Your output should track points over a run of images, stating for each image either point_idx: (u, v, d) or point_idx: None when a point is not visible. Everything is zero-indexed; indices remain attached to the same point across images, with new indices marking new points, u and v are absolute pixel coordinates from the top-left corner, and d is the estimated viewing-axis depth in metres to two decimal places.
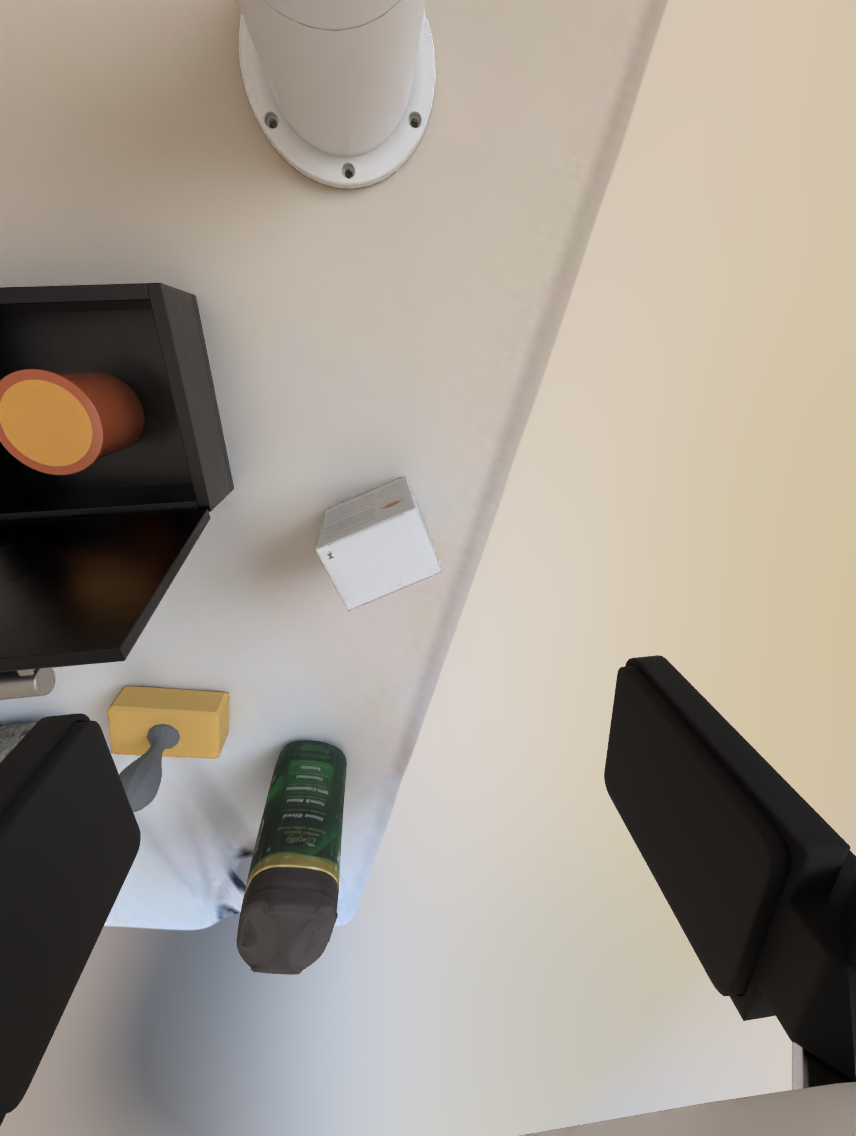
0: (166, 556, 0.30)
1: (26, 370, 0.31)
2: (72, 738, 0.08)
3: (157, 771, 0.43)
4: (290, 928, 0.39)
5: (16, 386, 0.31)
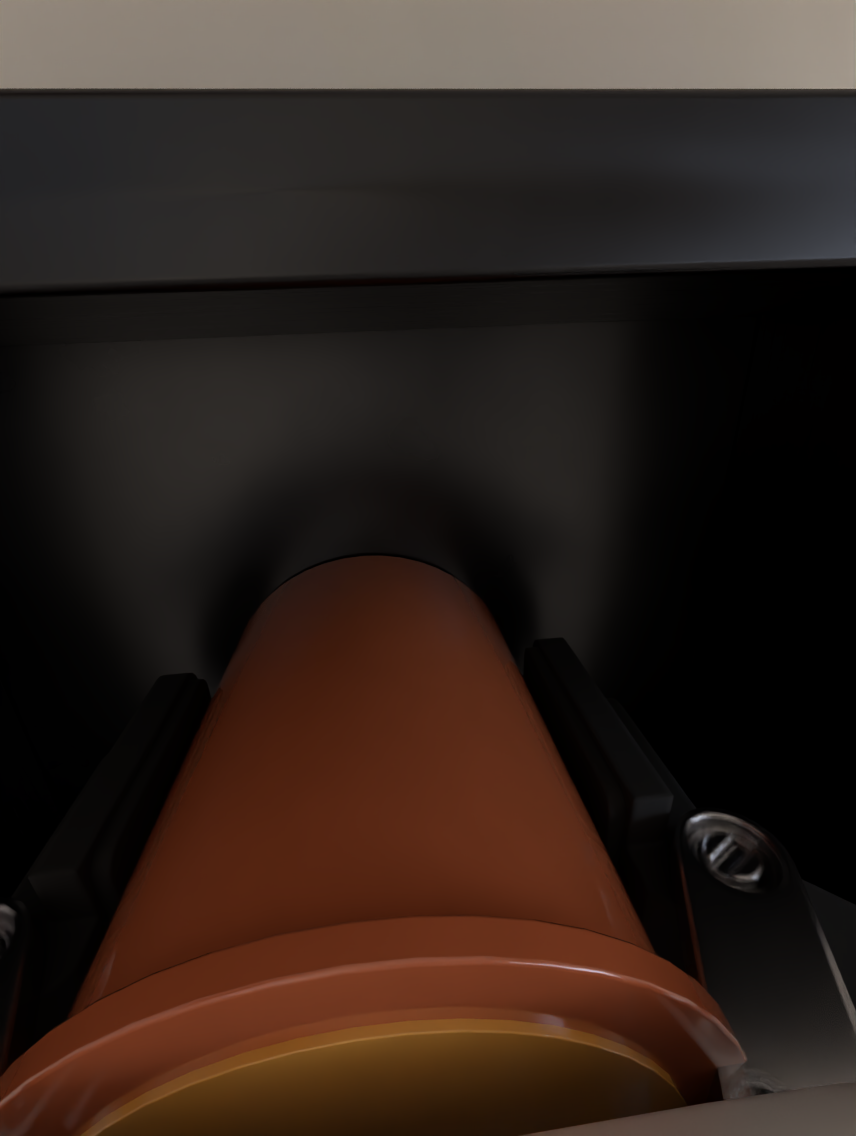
0: None
1: (315, 976, 0.03)
2: (190, 692, 0.09)
3: None
4: None
5: (194, 1082, 0.03)
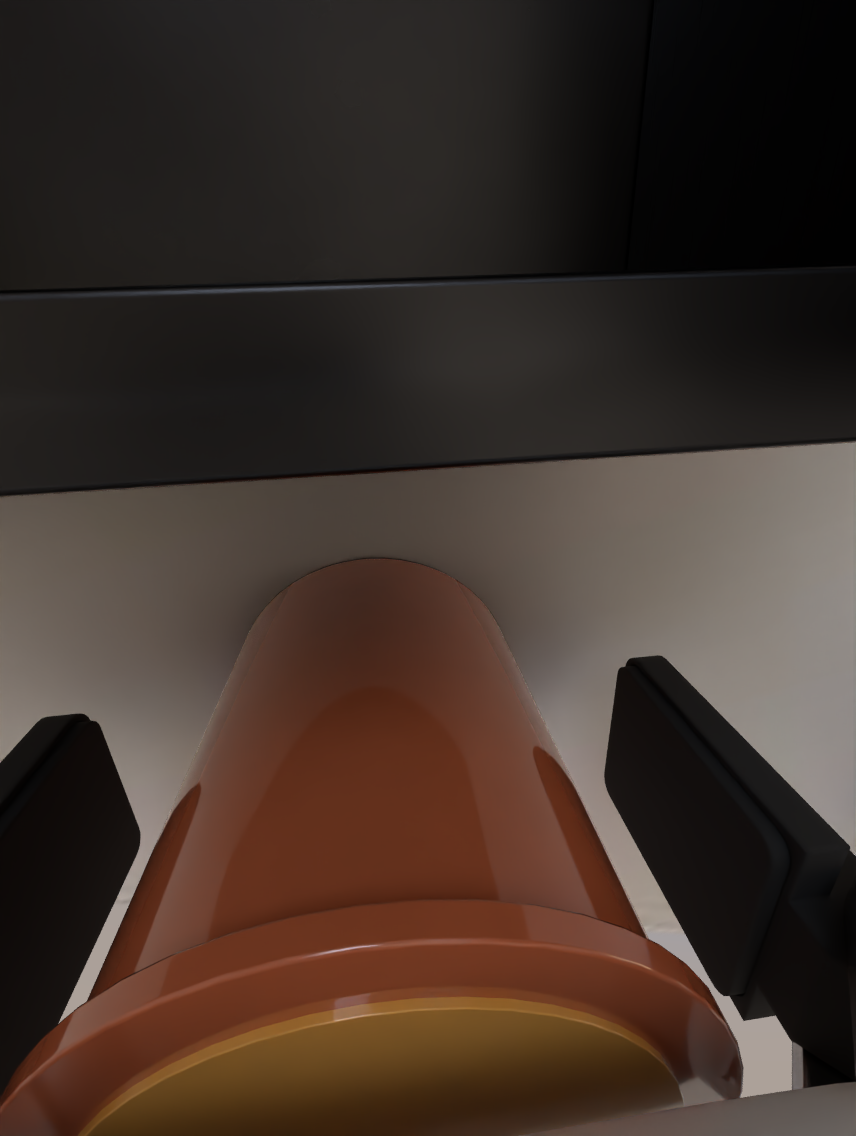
0: None
1: (328, 955, 0.03)
2: (72, 738, 0.08)
3: None
4: None
5: (214, 1055, 0.03)
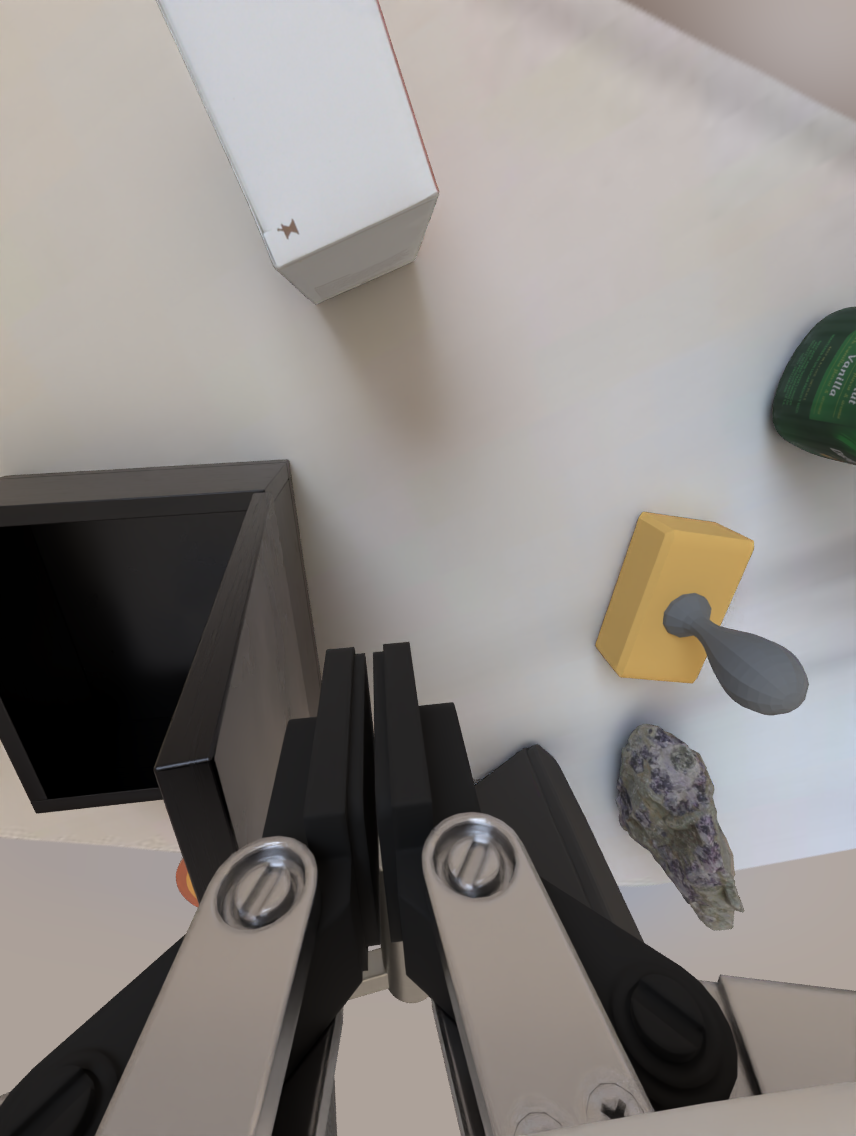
0: None
1: None
2: (360, 664, 0.09)
3: (742, 639, 0.25)
4: None
5: None
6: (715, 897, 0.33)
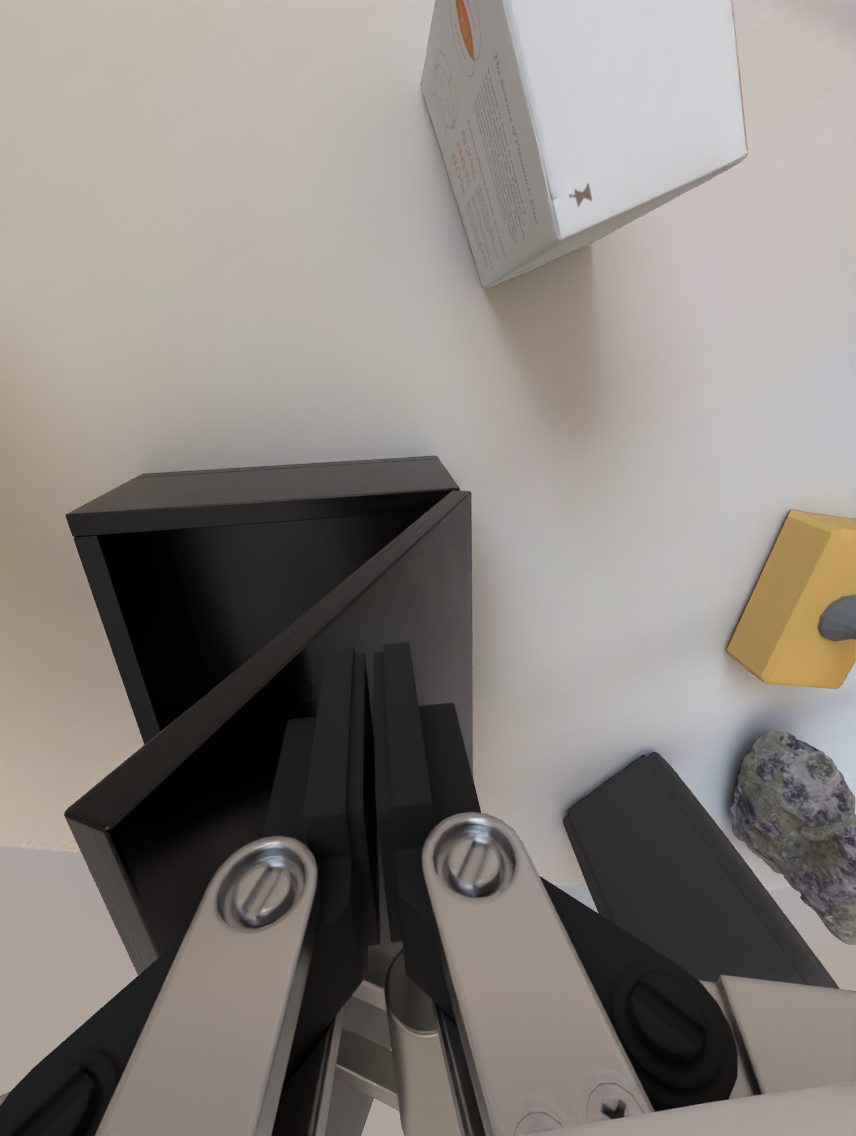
0: None
1: None
2: (360, 665, 0.09)
3: None
4: None
5: None
6: None
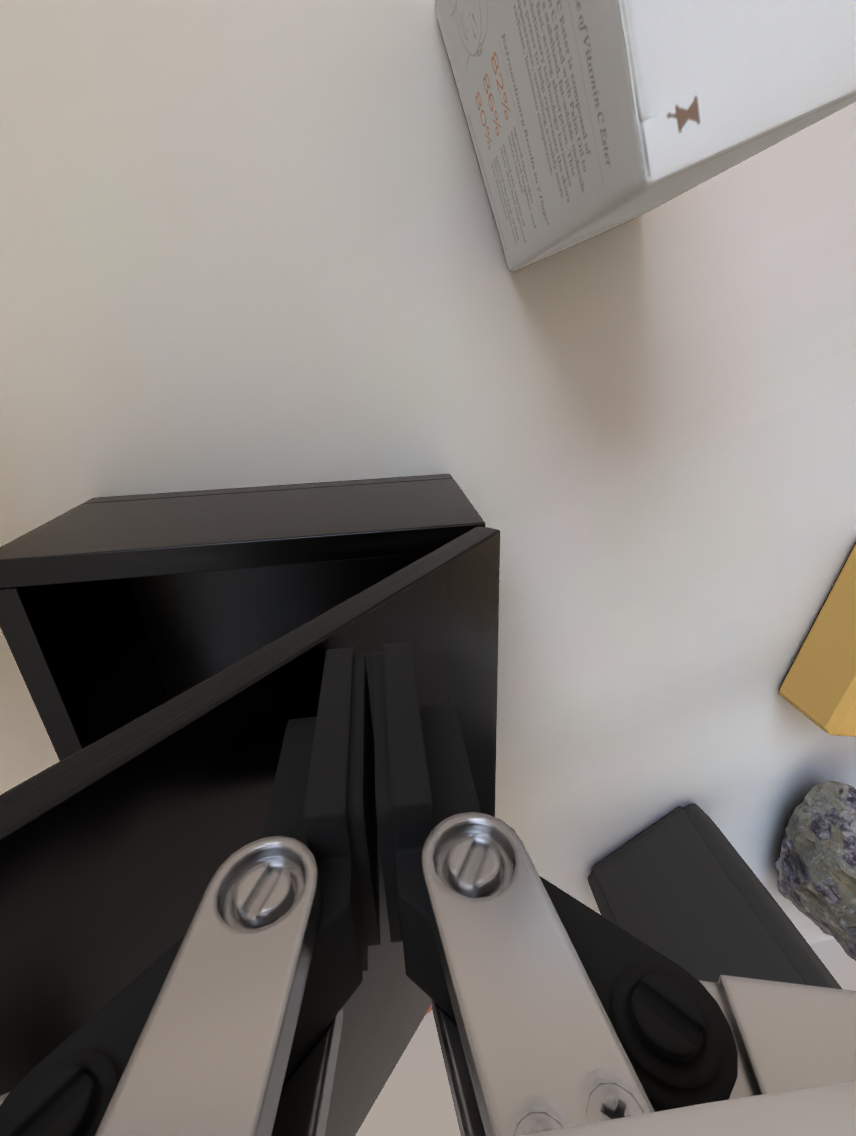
0: None
1: None
2: (360, 664, 0.09)
3: None
4: None
5: None
6: None
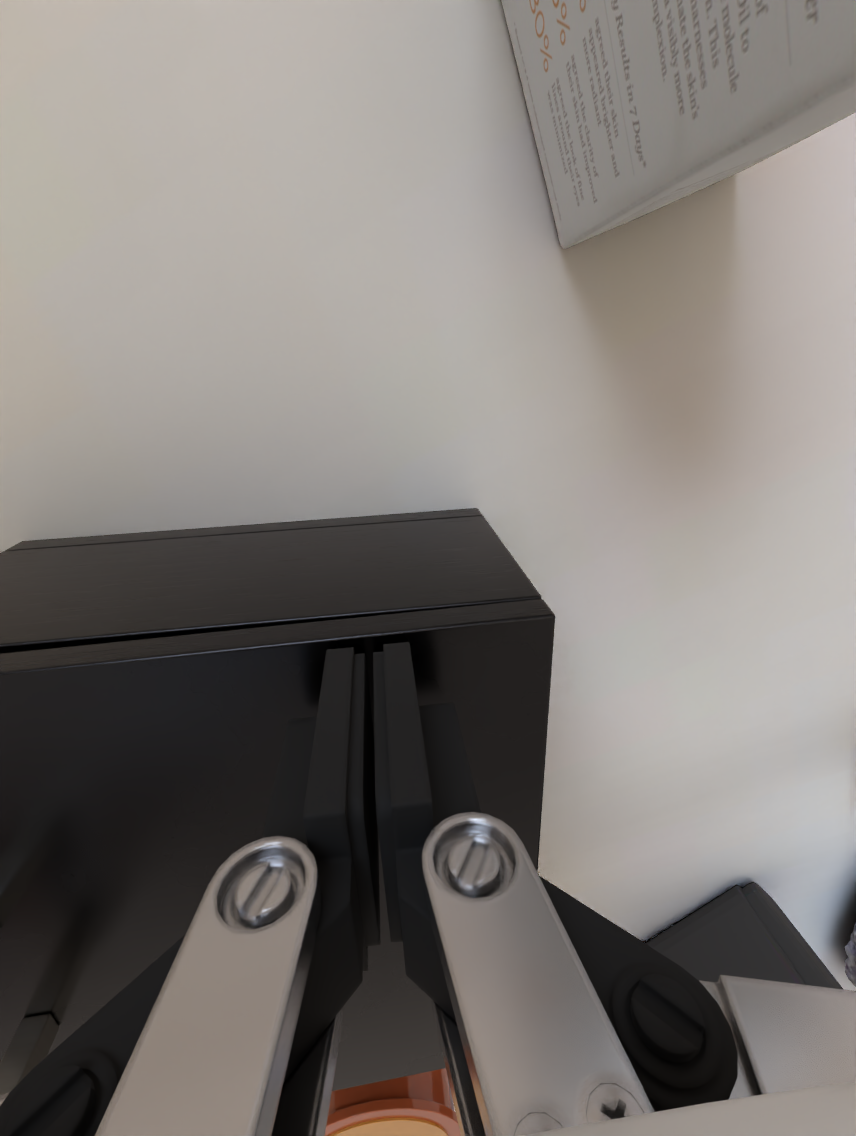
0: None
1: (368, 1112, 0.18)
2: (360, 665, 0.09)
3: None
4: None
5: (345, 1129, 0.18)
6: None
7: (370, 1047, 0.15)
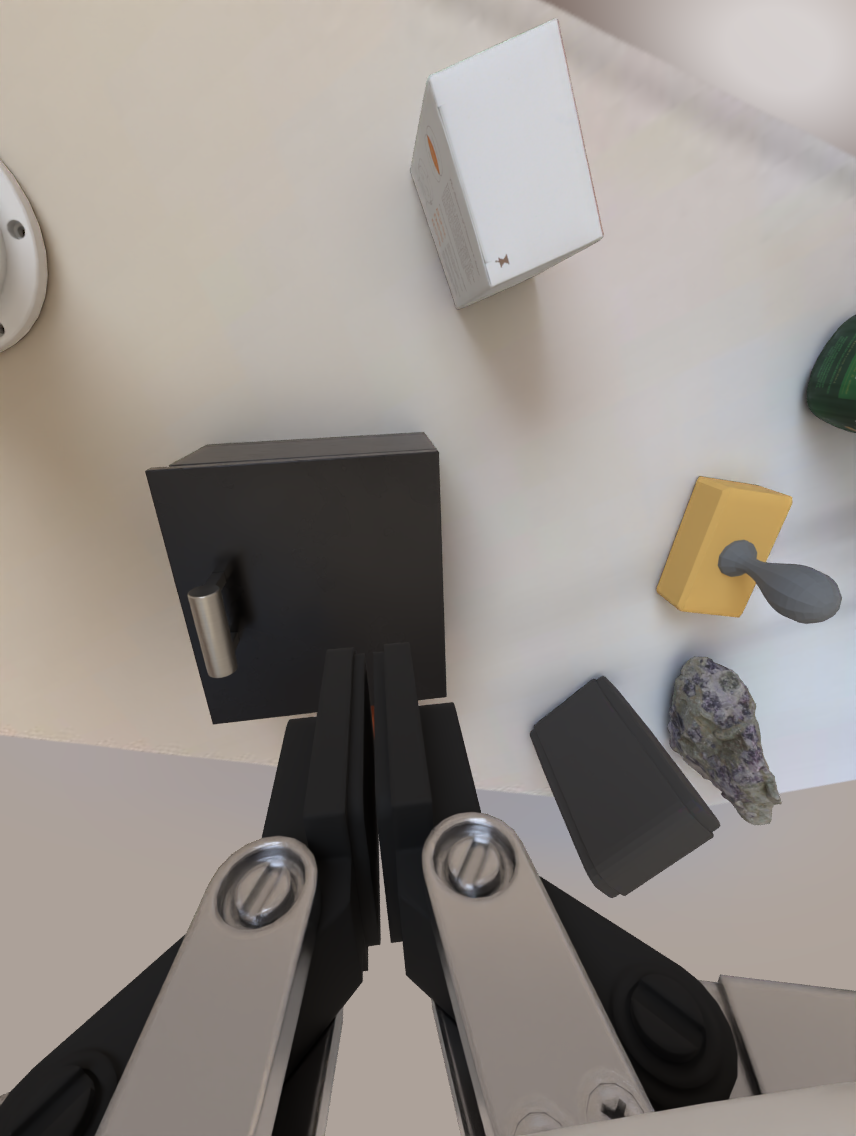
0: None
1: None
2: (360, 665, 0.09)
3: (788, 567, 0.32)
4: None
5: None
6: (757, 793, 0.40)
7: (371, 679, 0.33)
